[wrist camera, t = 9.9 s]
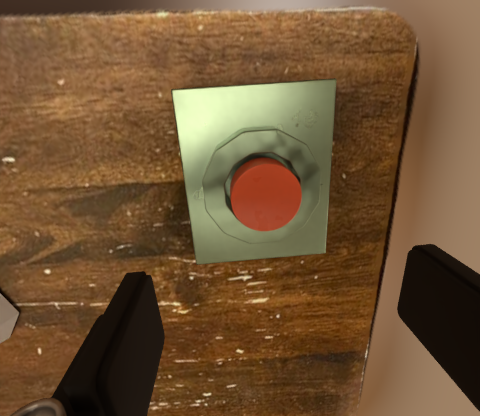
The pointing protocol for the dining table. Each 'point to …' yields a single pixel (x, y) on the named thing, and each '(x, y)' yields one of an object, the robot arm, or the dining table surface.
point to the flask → (6, 318)
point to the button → (265, 194)
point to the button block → (250, 147)
